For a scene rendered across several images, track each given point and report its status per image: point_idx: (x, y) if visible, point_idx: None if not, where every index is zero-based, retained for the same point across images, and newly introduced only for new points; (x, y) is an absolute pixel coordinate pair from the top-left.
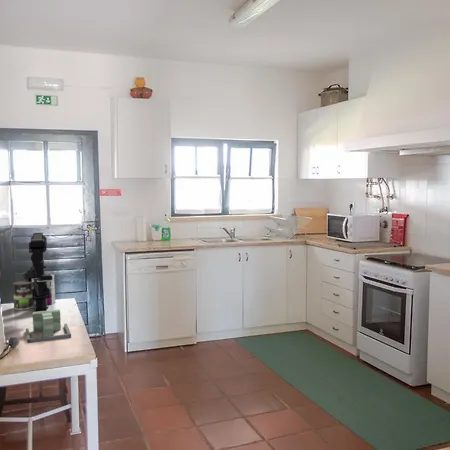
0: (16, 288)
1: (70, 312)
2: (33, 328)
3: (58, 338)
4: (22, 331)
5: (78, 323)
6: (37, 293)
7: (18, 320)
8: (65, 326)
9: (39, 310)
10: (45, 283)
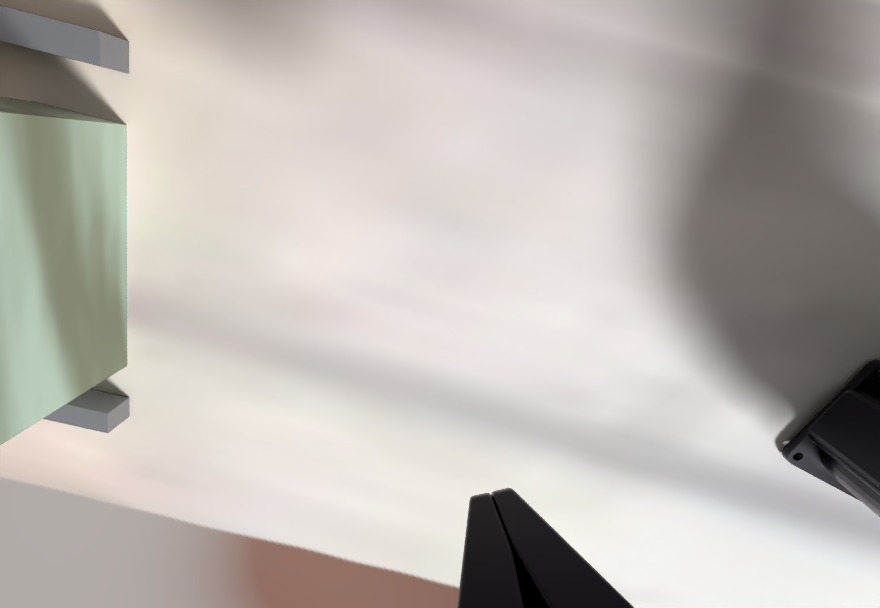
0: None
1: None
2: (6, 100)
3: None
4: (159, 8)
5: (180, 508)
6: (527, 528)
7: (648, 100)
8: None
9: (832, 403)
10: None
